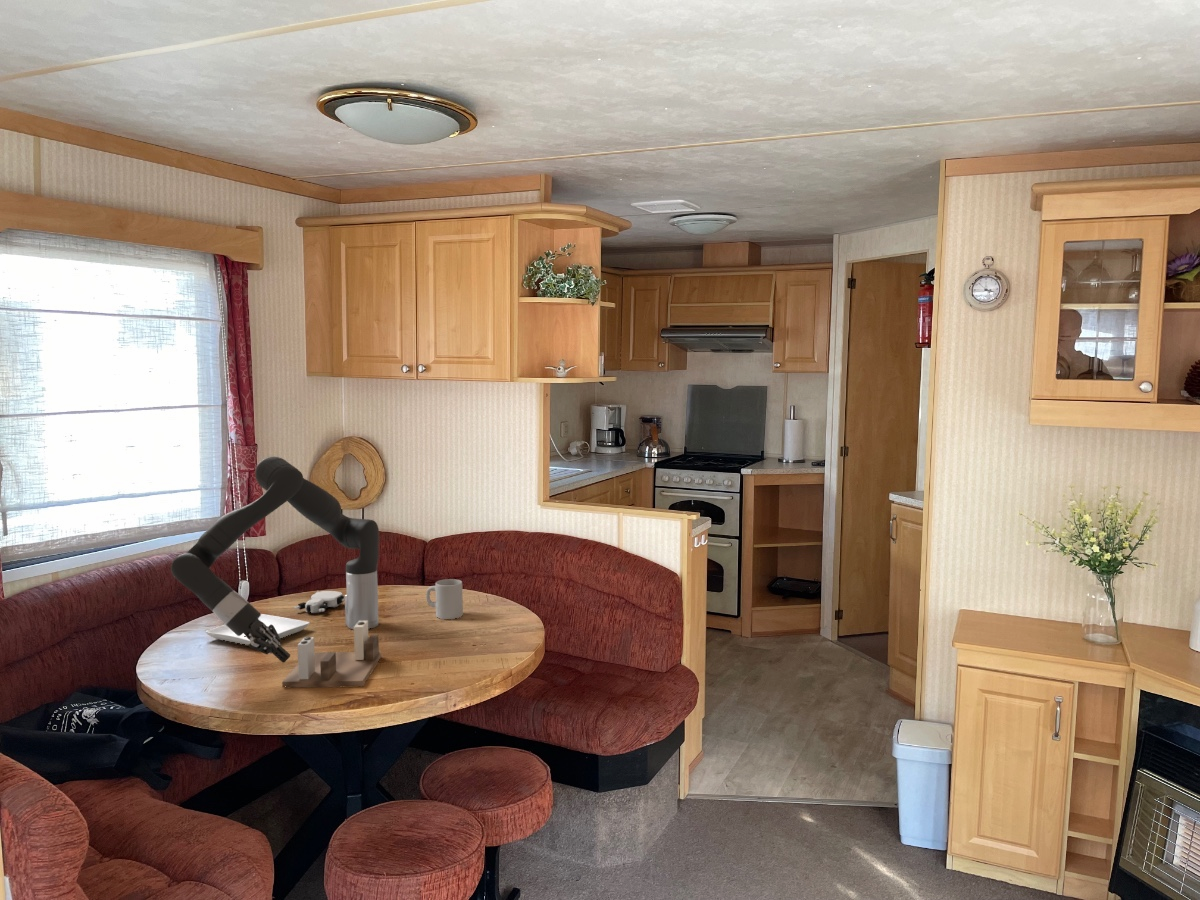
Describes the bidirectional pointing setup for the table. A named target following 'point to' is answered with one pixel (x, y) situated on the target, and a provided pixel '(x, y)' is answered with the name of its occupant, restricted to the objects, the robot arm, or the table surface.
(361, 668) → the brown piece
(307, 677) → the tile two
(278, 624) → the salad plate
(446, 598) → the mug
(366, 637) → the tile one
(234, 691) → the table surface
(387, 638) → the table surface
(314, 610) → the robot toy
